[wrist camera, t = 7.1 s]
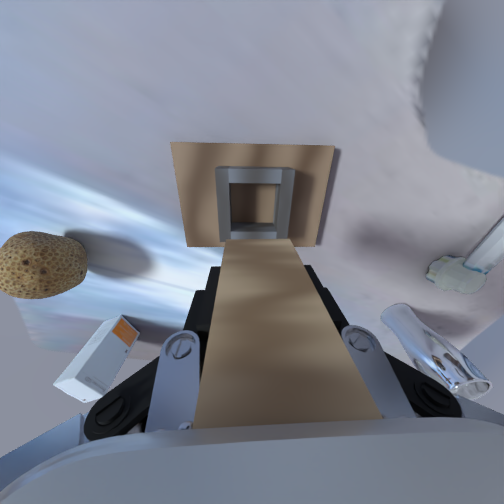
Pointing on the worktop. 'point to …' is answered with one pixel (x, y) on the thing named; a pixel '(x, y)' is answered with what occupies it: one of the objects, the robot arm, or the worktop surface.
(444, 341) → the beer glass
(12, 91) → the worktop surface
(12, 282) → the natural sponge
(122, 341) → the skincare box
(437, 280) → the white handle
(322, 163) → the peg caddy
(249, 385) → the oak peg
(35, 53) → the worktop surface
